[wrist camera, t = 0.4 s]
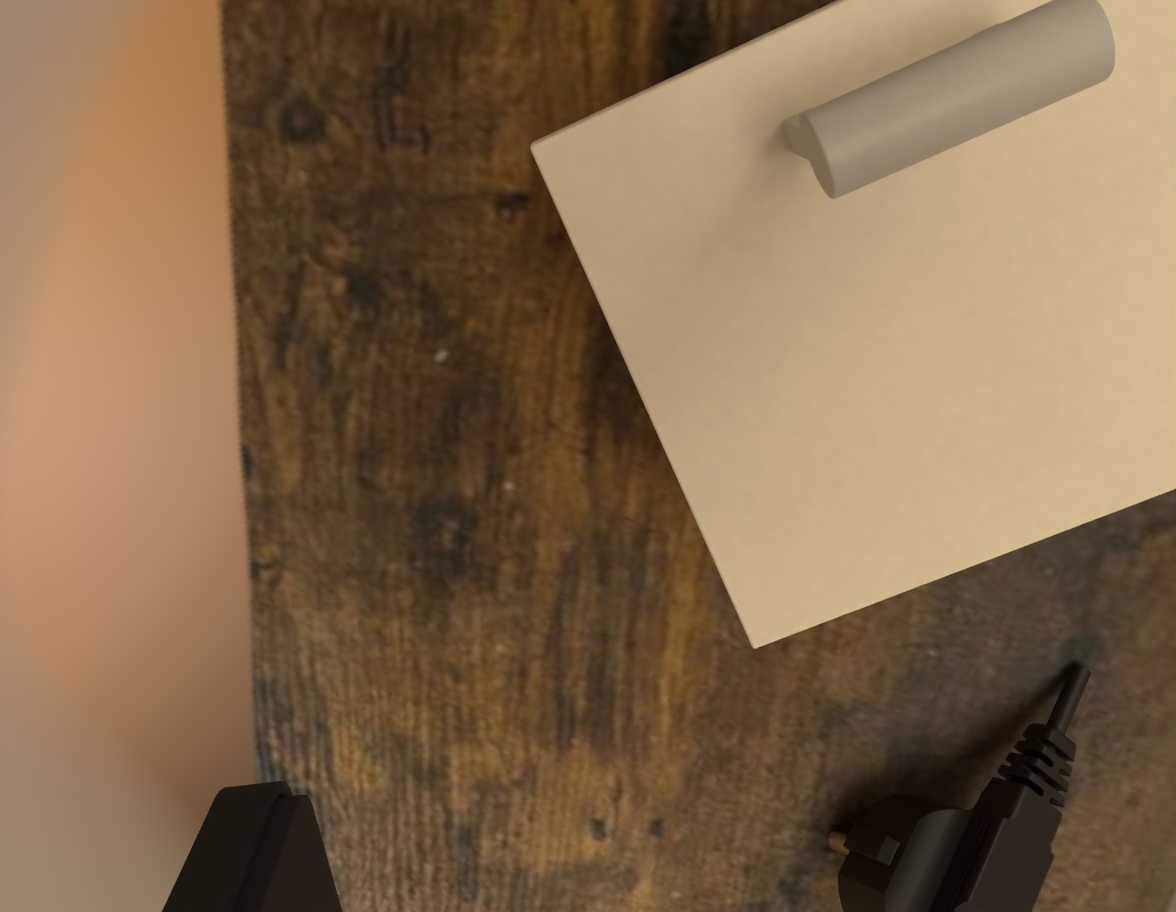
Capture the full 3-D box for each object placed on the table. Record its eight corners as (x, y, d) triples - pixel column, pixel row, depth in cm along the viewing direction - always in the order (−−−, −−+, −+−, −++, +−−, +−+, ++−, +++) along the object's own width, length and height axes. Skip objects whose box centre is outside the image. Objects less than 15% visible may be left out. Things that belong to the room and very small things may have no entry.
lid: (530, 142, 22) (520, 170, 18) (1207, -172, 20) (1398, -236, 16) (748, 633, 27) (786, 757, 22) (1315, 416, 25) (1487, 502, 20)
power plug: (1149, 714, 38) (1021, 1033, 34) (992, 692, 45) (872, 955, 41) (1049, 627, 36) (904, 951, 32) (904, 619, 43) (770, 885, 39)
